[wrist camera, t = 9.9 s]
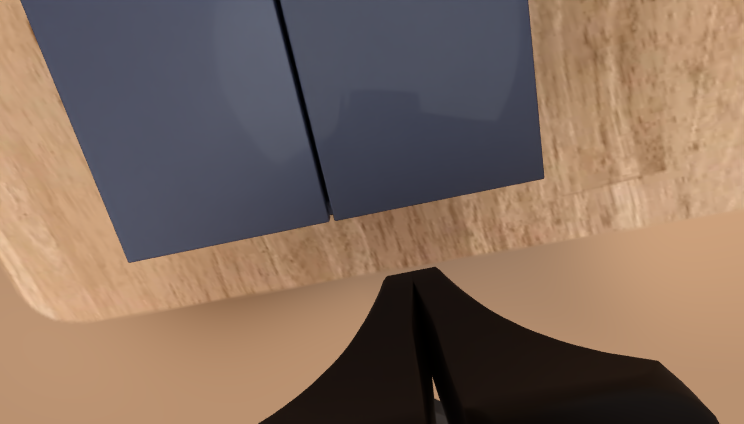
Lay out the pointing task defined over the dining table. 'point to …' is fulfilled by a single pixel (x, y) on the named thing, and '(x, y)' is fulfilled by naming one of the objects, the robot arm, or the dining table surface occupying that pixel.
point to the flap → (184, 118)
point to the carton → (415, 98)
